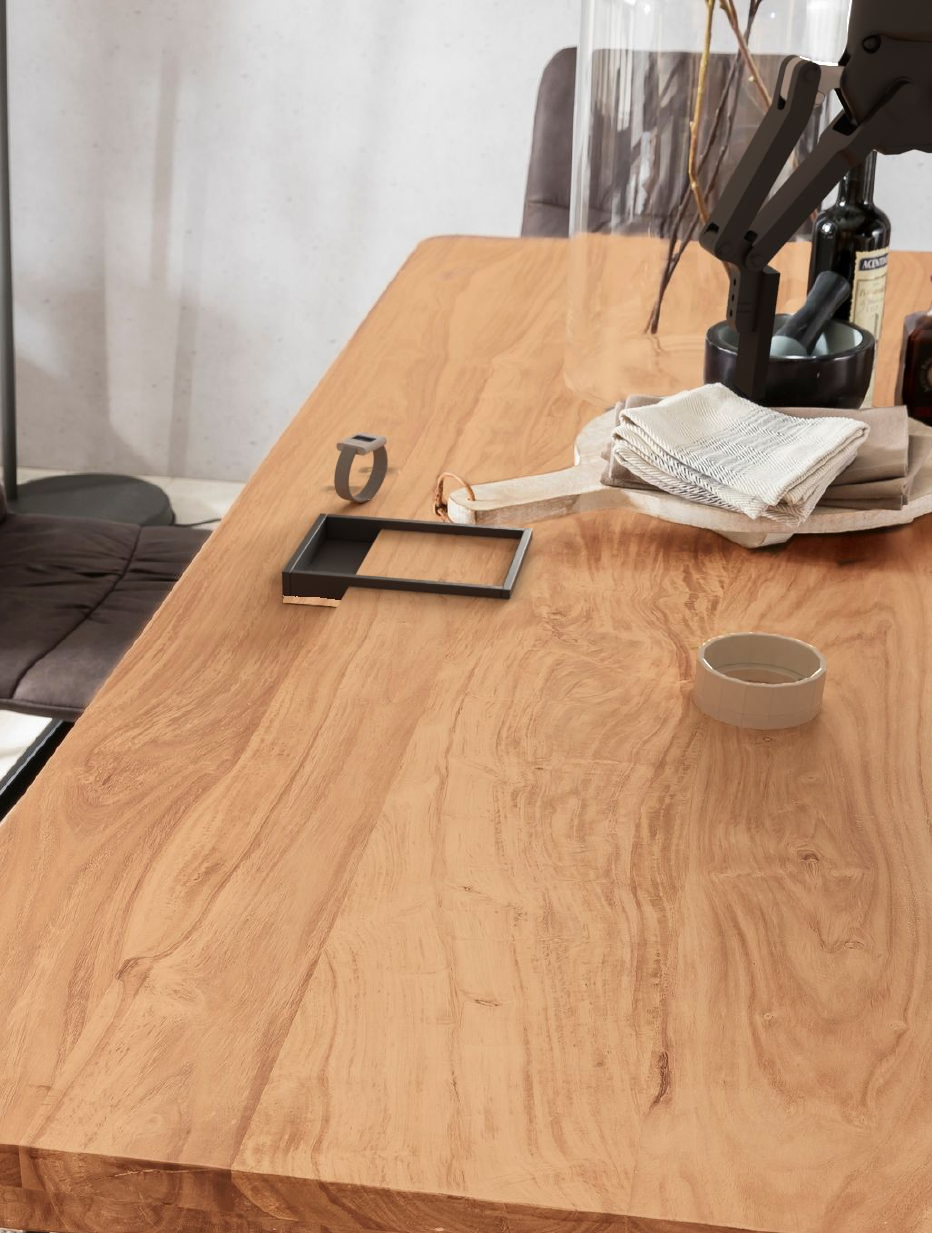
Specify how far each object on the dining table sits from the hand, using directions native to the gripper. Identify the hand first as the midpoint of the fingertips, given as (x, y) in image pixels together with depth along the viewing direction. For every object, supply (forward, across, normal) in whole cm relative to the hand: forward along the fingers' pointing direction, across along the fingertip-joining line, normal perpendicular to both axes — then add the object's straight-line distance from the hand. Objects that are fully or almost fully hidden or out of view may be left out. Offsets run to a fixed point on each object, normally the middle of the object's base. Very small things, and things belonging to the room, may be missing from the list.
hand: (866, 384), depth 95 cm
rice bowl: (+21, +4, 0) cm, 21 cm away
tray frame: (+21, +20, -26) cm, 39 cm away
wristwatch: (+21, +21, -43) cm, 53 cm away
